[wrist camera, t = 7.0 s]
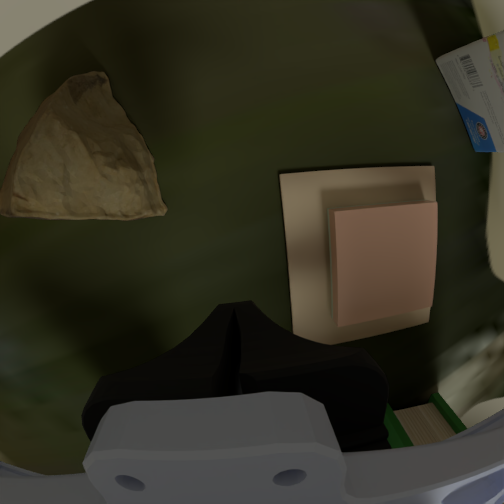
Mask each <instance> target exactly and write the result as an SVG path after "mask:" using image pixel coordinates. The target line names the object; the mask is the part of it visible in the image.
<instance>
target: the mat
mask: <svg viewBox="0 0 504 504" xmlns="http://www.w3.org/2000/svg"><path fill="white" fill-rule="evenodd" d="M279 178H280V187H281V197H282V207H283V217H284V227H285V238H286V249H287V261H288V272H289V285H290V298H291V311H292V325H293V334H295V335H298V336H300V337H303V338H306V339H309V340H312V341H315V342H319V343H323V344H328V345H333V344H338V343H343V342H348V341H352V340H357V339H362V338H366V337H371V336H375V335H380V334H384V333H388V332H392V331H396V330H400V329H404V328H408V327H412V326H416V325H419V324H423V323H427V322H429V314H430V307H427V308H423V309H419V310H415V311H411V312H407V313H403V314H399V315H394V316H390V317H385V318H381V319H376V320H372V321H367V322H362V323H357V324H352V325H347V326H342V327H338V326H337V325H336V323H335V322H334V320H333V319H332V317H331V274H330V251H329V232H328V217H327V208H335V207H345V206H356V205H366V204H377V203H389V202H401V201H413V200H430V201H434V202H436V193H435V170H434V166H400V167H373V168H354V169H338V170H324V171H311V172H299V173H288V174H279Z"/></svg>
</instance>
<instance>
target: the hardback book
mask: <svg viewBox="0 0 504 504" xmlns="http://www.w3.org/2000/svg"><path fill="white" fill-rule="evenodd" d="M384 424H385V426H386V428H387V430H388V432H389V436H388V438H387V440H388V442H389V444H390V446H391V448H392V449H395V448H403V447H410V446H417V445H424V444H430V443H435V442H441V441H443V440H445V439H448V438H450V437H452V436H454V435H456V434H458V433H460V432H462V431H464V430H466V429H467V428H466V426H465V425H464V424H463V423H462V421H461V420H460V419H459V418H458V416H457V415H456V414H455V413H454V411H453V410H452V409H451V408H450V406H449V405H448V404H447V403H446V402H445V400H444V399H443V398H442V397H441V396H440V394H439V393H434V394H431V397H430V399H429V401H428V404H424V405H420V406H415V407H411V408H406V409H402V410H397V411H393V410H392V408H391V407H390V405H389V404H388V403H387V409H386V413H385V418H384ZM502 504H504V503H502Z"/></svg>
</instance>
